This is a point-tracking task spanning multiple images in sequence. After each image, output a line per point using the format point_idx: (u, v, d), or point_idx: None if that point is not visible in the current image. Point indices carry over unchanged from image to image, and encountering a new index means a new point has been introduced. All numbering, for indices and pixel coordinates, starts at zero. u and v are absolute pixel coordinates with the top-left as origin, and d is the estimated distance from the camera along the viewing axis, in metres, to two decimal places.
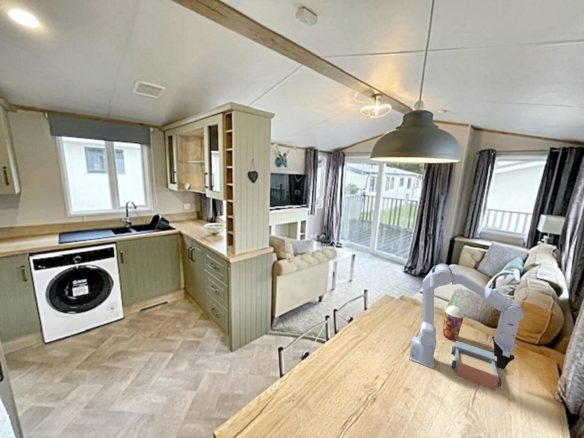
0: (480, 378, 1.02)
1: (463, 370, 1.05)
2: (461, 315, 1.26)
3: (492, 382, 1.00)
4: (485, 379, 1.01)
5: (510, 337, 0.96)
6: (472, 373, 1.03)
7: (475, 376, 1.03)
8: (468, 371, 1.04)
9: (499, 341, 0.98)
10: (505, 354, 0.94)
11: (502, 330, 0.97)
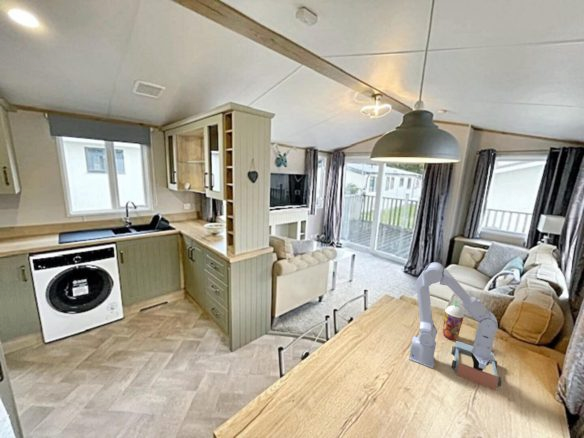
0: (480, 378, 1.02)
1: (463, 370, 1.05)
2: (461, 315, 1.26)
3: (492, 382, 1.00)
4: (485, 379, 1.01)
5: (486, 349, 0.98)
6: (472, 373, 1.03)
7: (475, 376, 1.03)
8: (468, 371, 1.04)
9: (476, 353, 1.01)
10: (481, 367, 0.96)
11: (478, 342, 1.00)
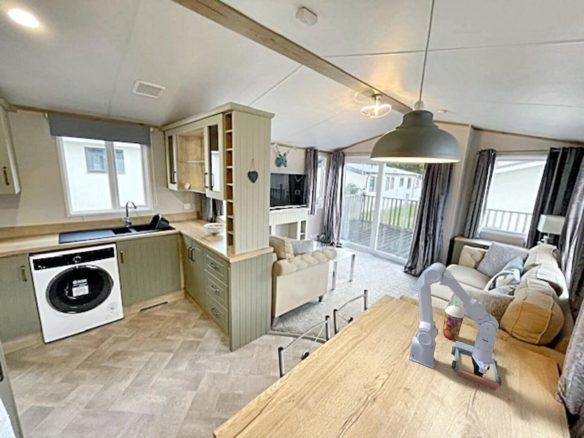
0: (480, 382, 1.01)
1: (463, 374, 1.03)
2: (461, 315, 1.26)
3: (492, 386, 0.99)
4: (485, 383, 1.00)
5: (487, 353, 0.96)
6: (472, 378, 1.02)
7: (475, 380, 1.02)
8: (468, 376, 1.02)
9: (477, 357, 0.99)
10: (481, 371, 0.94)
11: (477, 345, 0.98)
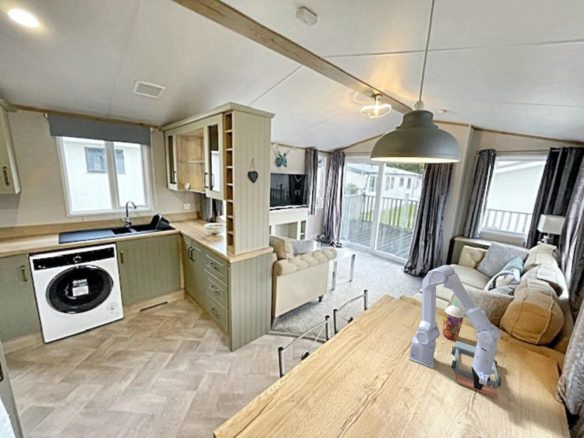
0: None
1: None
2: (461, 315, 1.26)
3: None
4: None
5: (487, 364, 0.94)
6: None
7: None
8: None
9: (477, 367, 0.96)
10: (481, 382, 0.91)
11: (476, 354, 0.96)
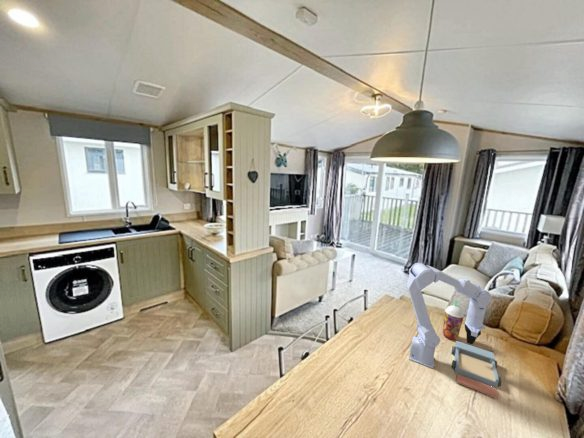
0: None
1: None
2: (461, 315, 1.26)
3: None
4: None
5: (478, 319, 1.06)
6: None
7: None
8: None
9: (469, 323, 1.08)
10: (473, 335, 1.04)
11: (474, 315, 1.07)
